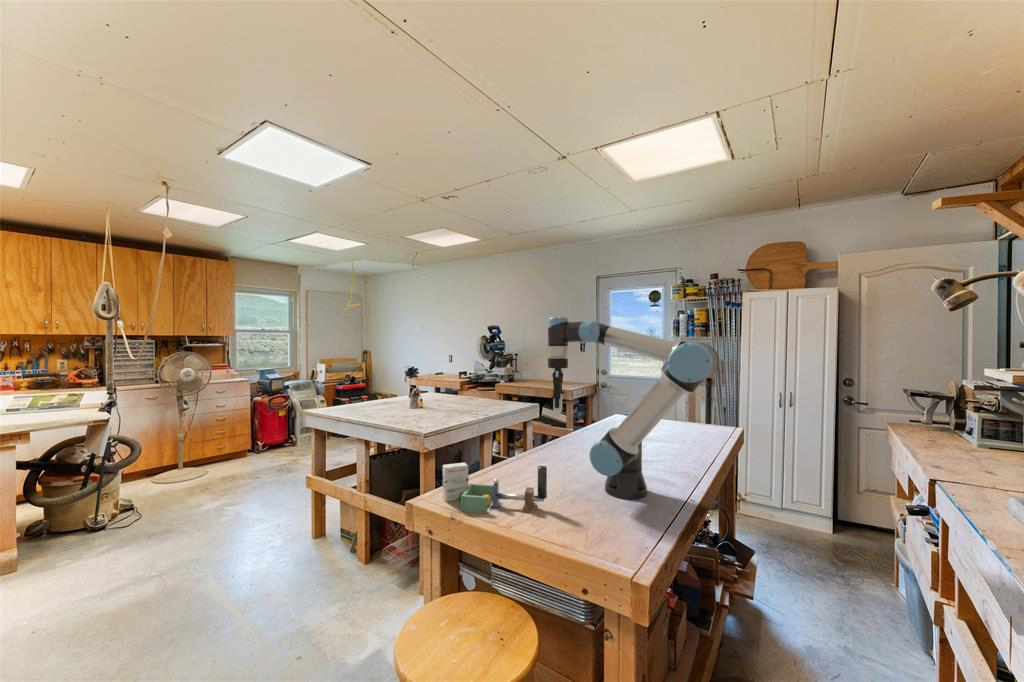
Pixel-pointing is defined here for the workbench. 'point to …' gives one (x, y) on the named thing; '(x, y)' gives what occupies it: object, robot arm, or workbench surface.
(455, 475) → the ink box
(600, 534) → the workbench surface
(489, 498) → the ball
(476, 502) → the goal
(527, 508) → the bearing block
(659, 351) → the robot arm
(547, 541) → the workbench surface
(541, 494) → the u-shaped post frame
